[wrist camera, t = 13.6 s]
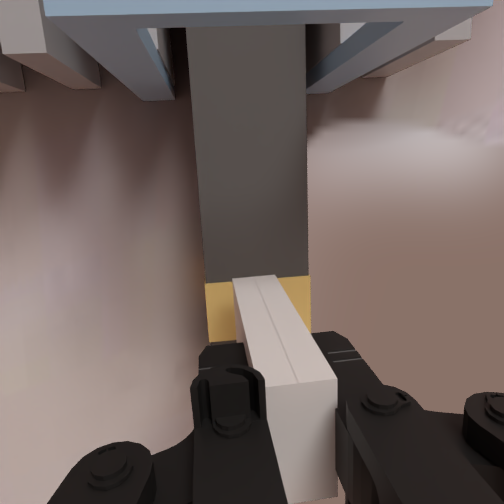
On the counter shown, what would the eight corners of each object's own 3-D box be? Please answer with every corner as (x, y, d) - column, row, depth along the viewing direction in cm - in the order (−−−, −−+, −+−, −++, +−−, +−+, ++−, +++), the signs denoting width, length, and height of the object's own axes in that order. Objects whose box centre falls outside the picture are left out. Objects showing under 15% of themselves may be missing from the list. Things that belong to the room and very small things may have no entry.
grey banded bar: (212, 351, 21) (214, 404, 16) (186, 10, 17) (178, -43, 12) (289, 343, 21) (311, 394, 17) (280, 9, 17) (306, -44, 13)
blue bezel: (143, 101, 17) (45, 16, 7) (141, 86, 17) (39, -23, 7) (328, 93, 18) (492, 6, 8) (328, 79, 18) (495, -29, 8)
